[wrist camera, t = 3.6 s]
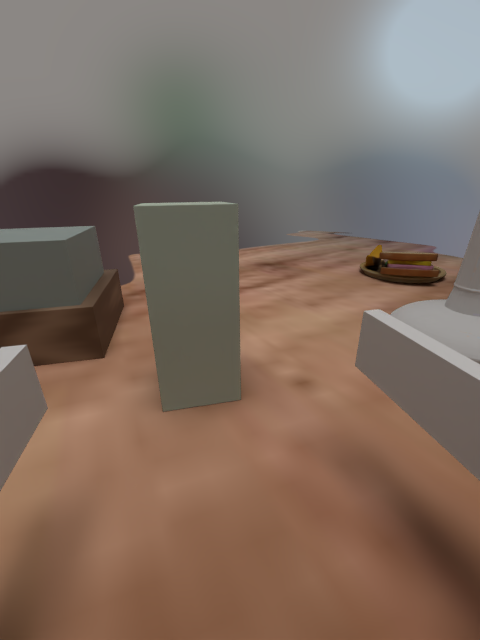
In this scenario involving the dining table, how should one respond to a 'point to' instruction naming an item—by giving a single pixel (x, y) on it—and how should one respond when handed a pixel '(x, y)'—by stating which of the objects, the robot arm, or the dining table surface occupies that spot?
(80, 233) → the slate top block
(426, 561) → the dining table surface
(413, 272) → the toy sandwich meal
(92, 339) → the walnut base block
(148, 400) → the dining table surface
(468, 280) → the candlestick
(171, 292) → the sage pillar block
